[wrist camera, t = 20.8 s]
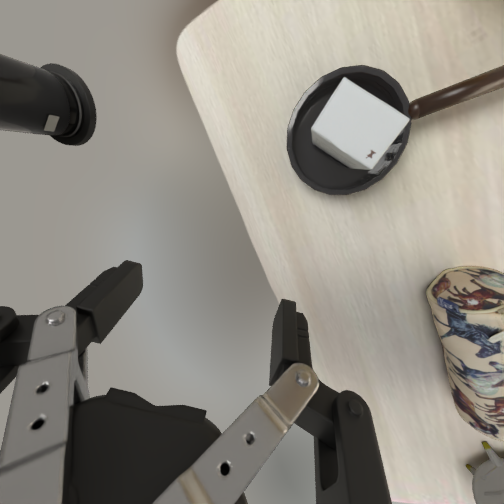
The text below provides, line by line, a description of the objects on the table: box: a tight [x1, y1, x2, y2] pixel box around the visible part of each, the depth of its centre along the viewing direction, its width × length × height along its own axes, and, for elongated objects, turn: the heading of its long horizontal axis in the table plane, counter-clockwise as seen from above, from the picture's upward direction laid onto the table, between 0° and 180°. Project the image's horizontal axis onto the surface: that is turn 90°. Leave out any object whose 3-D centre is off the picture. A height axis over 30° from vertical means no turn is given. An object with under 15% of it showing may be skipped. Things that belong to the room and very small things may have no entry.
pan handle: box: [408, 65, 504, 120], centre depth 22 cm, size 11×2×2 cm, turn 109°
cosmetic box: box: [311, 77, 410, 170], centre depth 23 cm, size 6×4×12 cm
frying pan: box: [287, 65, 411, 195], centre depth 27 cm, size 13×13×4 cm
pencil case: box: [426, 266, 504, 441], centre depth 29 cm, size 22×8×10 cm, turn 24°
